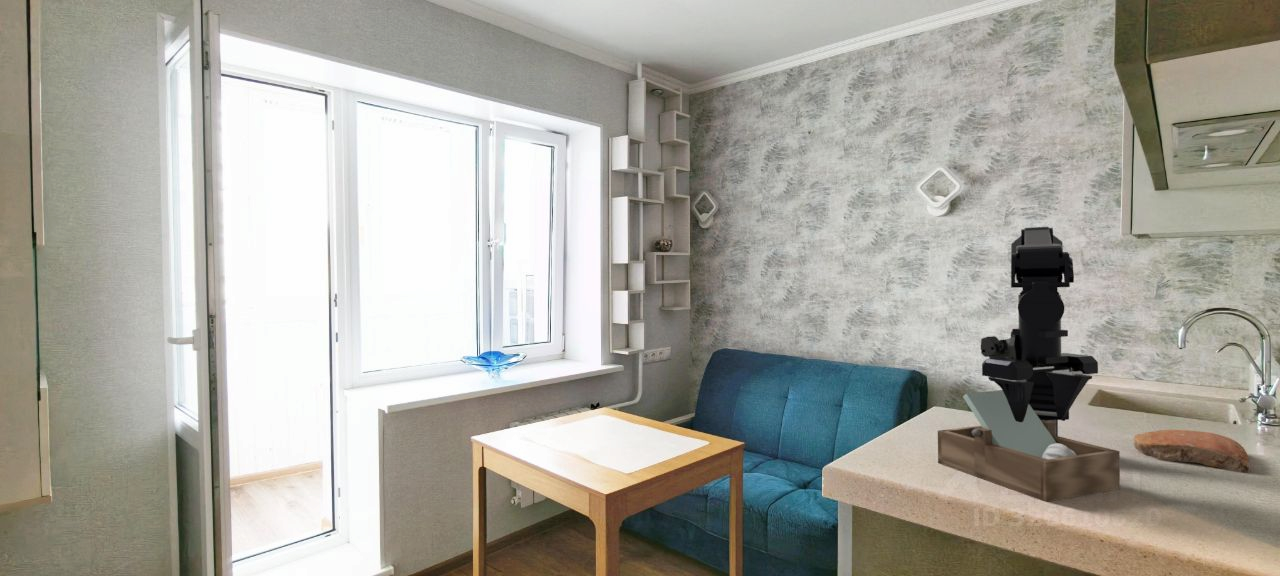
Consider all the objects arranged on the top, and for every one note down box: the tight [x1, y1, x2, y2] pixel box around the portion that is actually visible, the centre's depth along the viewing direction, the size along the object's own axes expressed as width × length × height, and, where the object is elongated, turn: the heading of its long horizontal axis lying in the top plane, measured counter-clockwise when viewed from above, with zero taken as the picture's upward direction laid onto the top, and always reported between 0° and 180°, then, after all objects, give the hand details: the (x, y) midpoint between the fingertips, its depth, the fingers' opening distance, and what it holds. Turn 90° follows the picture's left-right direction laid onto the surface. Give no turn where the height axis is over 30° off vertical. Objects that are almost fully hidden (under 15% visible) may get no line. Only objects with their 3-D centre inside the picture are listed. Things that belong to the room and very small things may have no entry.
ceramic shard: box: [1133, 429, 1251, 473], centre depth 108 cm, size 15×6×15 cm
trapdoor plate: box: [962, 389, 1056, 458], centre depth 100 cm, size 12×14×1 cm
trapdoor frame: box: [937, 420, 1121, 502], centre depth 99 cm, size 18×20×8 cm
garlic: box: [1042, 443, 1076, 460], centre depth 93 cm, size 6×5×5 cm
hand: (1040, 419), depth 96 cm, fingers open, 9 cm apart
